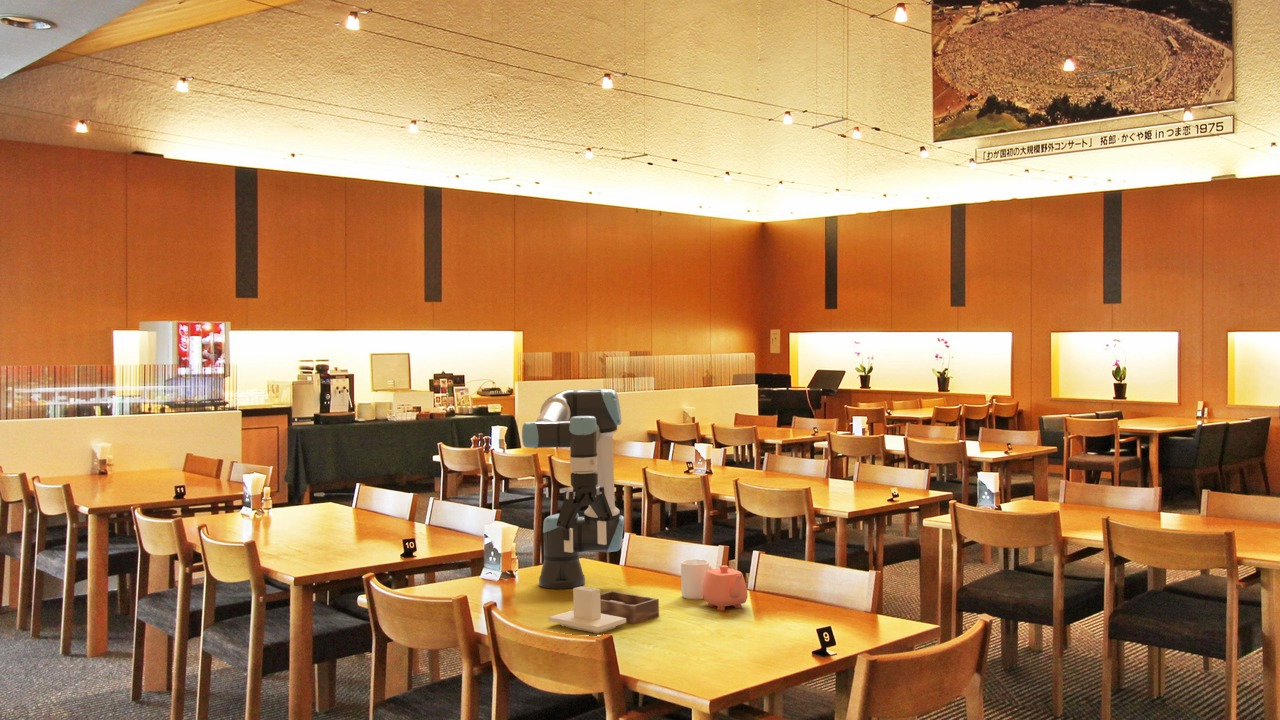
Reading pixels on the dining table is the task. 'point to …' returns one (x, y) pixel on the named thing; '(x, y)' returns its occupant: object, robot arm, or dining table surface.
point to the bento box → (629, 606)
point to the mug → (693, 577)
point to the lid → (587, 613)
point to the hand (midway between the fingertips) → (585, 548)
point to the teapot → (724, 588)
